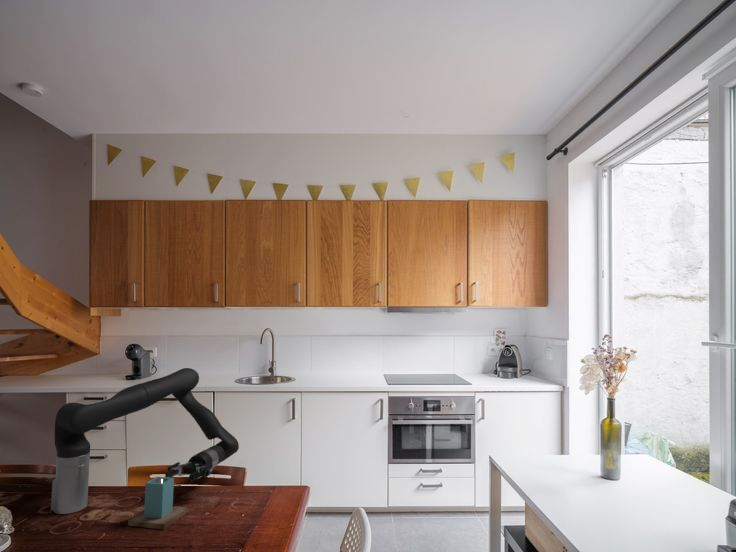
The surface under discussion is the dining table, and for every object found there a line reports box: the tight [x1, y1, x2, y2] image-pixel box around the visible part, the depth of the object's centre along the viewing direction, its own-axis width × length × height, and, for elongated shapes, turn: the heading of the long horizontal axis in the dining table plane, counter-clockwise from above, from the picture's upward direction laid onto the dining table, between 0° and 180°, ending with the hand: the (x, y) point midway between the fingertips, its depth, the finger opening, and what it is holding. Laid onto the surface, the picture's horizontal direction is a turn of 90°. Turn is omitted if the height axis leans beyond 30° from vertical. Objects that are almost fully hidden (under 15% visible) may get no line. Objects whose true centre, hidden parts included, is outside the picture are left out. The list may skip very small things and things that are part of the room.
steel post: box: [156, 478, 164, 484], centre depth 148 cm, size 2×2×10 cm
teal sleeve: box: [143, 476, 175, 519], centre depth 148 cm, size 6×6×10 cm
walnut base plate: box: [127, 505, 188, 530], centre depth 147 cm, size 12×12×2 cm
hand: (178, 477), depth 158 cm, fingers open, 8 cm apart
